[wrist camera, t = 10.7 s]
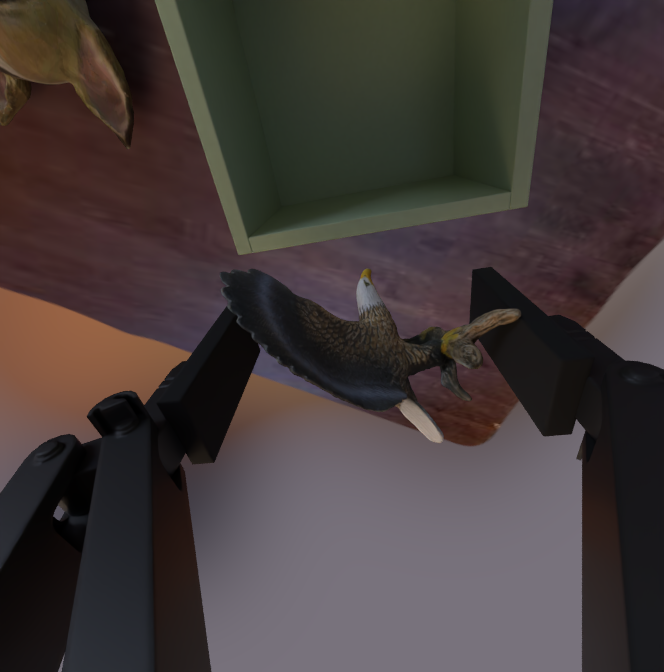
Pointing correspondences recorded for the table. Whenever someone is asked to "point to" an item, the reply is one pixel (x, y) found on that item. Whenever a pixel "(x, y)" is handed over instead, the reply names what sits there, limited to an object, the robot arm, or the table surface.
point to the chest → (360, 110)
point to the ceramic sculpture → (61, 60)
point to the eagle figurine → (355, 344)
